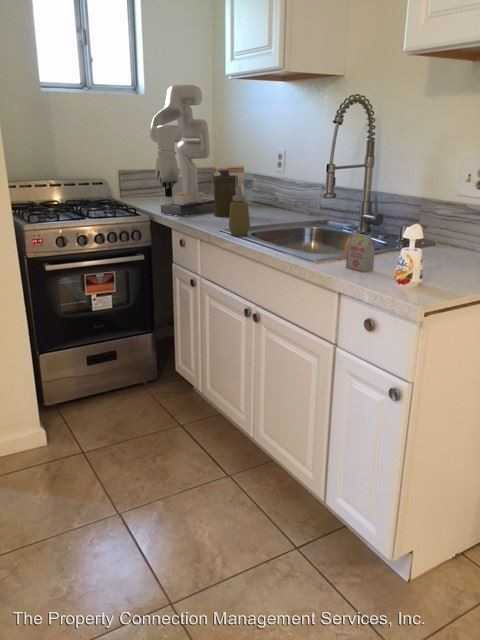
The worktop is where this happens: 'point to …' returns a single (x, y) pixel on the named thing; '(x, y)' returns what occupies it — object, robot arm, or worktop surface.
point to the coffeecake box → (233, 171)
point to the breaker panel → (188, 208)
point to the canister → (224, 193)
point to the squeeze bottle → (239, 215)
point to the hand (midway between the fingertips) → (168, 196)
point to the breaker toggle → (181, 198)
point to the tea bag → (360, 253)
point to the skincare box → (174, 191)
